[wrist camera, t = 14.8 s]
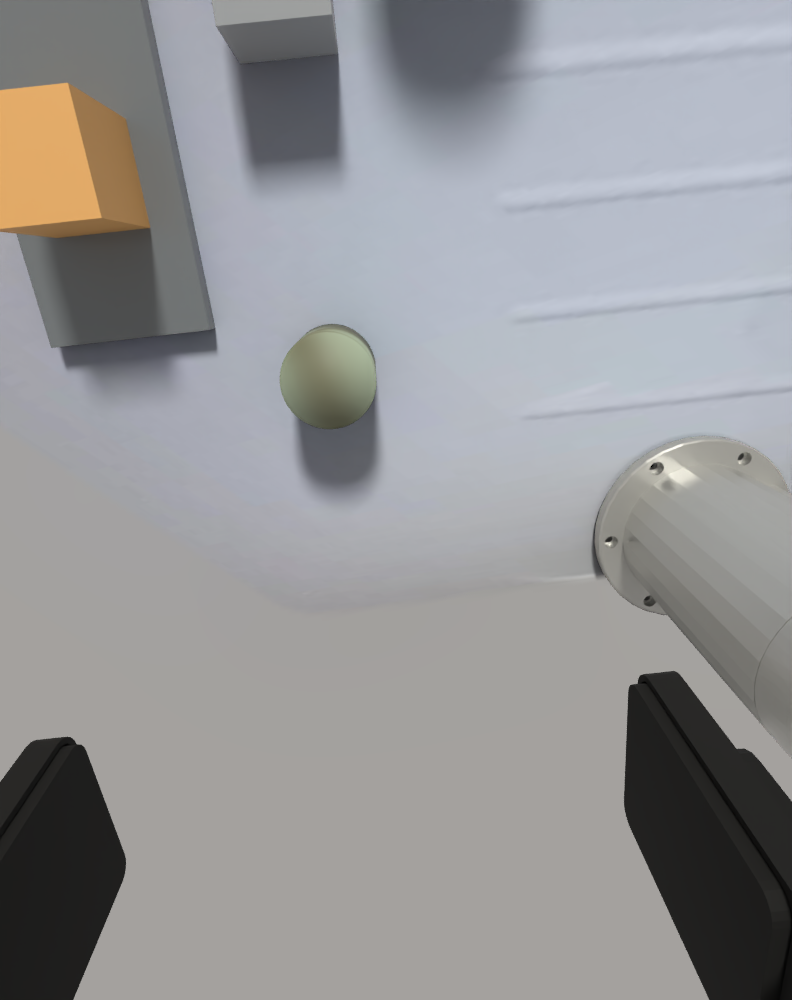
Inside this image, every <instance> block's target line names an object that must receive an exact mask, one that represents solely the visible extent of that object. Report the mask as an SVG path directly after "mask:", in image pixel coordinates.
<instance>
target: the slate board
mask: <svg viewBox="0 0 792 1000" xmlns="http://www.w3.org/2000/svg"><path fill="white" fill-rule="evenodd" d="M60 83H69V84H71V85H72V86H74V87H76V88H77V89H79V90H80V91H82V92H84V93H85V94H87V95H88V96H90V97H92V98H93V99H95V100H96V101H98V102H100V103H101V104H103V105H104V106H106V107H108V108H109V109H111V110H112V111H114V112H116V113H117V114H119V115H120V116H122V117H124V118H125V119H126V122H127V126H128V131H129V135H130V140H131V144H132V149H133V153H134V157H135V162H136V166H137V171H138V175H139V180H140V184H141V188H142V193H143V197H144V202H145V206H146V211H147V215H148V219H149V224H150V228H145V229H136V230H127V231H118V232H108V233H99V234H90V235H81V236H72V237H62V238H52V237H43V236H34V235H25V234H17V233H16V234H17V237H18V240H19V244H20V247H21V250H22V253H23V257H24V260H25V263H26V266H27V270H28V273H29V276H30V280H31V283H32V286H33V289H34V293H35V296H36V299H37V302H38V306H39V309H40V312H41V316H42V319H43V322H44V325H45V329H46V332H47V335H48V339H49V342H50V345H51V348H55V347H64V346H73V345H82V344H90V343H99V342H108V341H117V340H126V339H134V338H143V337H152V336H161V335H170V334H178V333H187V332H196V331H205V330H211V329H214V328H215V325H214V320H213V315H212V311H211V306H210V301H209V296H208V291H207V286H206V282H205V277H204V272H203V267H202V262H201V257H200V253H199V248H198V243H197V238H196V233H195V228H194V224H193V219H192V214H191V209H190V204H189V200H188V195H187V190H186V185H185V180H184V175H183V171H182V166H181V161H180V156H179V151H178V146H177V142H176V137H175V132H174V127H173V122H172V117H171V113H170V108H169V103H168V98H167V93H166V89H165V84H164V79H163V74H162V69H161V64H160V60H159V55H158V50H157V45H156V40H155V35H154V31H153V26H152V21H151V16H150V11H149V7H148V2H147V0H0V90H6V89H15V88H24V87H33V86H42V85H51V84H60Z"/></svg>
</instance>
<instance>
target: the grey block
mask: <svg viewBox="0 0 792 1000" xmlns="http://www.w3.org/2000/svg"><path fill="white" fill-rule="evenodd" d="M212 5H213V11H214V17H215V23H216V27H217V28H218V30H219V32H220V33H221V35H222V36H223V38H224V39H225V41H226V43H227V44H228V46H229V47H230V49H231V50H232V52H233V54H234V55H235V57H236V58H237V60H238V61H239V63H240V64H246V63H256V62H266V61H276V60H285V59H295V58H305V57H315V56H325V55H334V54H338V45H337V36H336V27H335V17H334V8H333V0H212Z"/></svg>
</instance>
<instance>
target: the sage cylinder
mask: <svg viewBox="0 0 792 1000" xmlns="http://www.w3.org/2000/svg"><path fill="white" fill-rule="evenodd" d="M280 387H281V392H282V395H283V398H284V400H285V402H286V404H287V406H288V407H289V408H290V410H291V411H292V412H293V413H294V414H295V415H296V416H297V417H298V418H299V419H300V420H302V421H304V422H305V423H307V424H309V425H311V426H314V427H317V428H322V429H337V428H342V427H345V426H348V425H350V424H352V423H354V422H355V421H357V420H358V419H359V418H361V417H362V416H363V415H364V414H365V412H366V411H367V410H368V408H369V407H370V405H371V403H372V401H373V398H374V395H375V391H376V368H375V359H374V355H373V352H372V350H371V348H370V346H369V344H368V343H367V341H366V340H365V339H364V338H363V337H362V336H361V335H360V334H359V333H357V332H356V331H355V330H353V329H351V328H349V327H346V326H343V325H338V324H327V325H322V326H319V327H316V328H314V329H312V330H310V331H309V332H307V333H306V334H305V335H304V336H303V337H302V338H301V339H300V340H299V341H298V342H297V343H296V344H295V345H294V346H293V347H292V348H291V349H290V351H289V352H288V353H287V355H286V357H285V359H284V361H283V363H282V367H281V371H280Z"/></svg>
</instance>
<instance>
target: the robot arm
mask: <svg viewBox="0 0 792 1000" xmlns="http://www.w3.org/2000/svg"><path fill="white" fill-rule="evenodd" d="M653 463H654V466H653V467H651V465H652V464H653ZM650 467H651V468H650ZM608 537H609V538H608ZM607 538H608V539H607ZM595 549H596V556H597V559H598V562H599V565H600V567H601V570H602V572H603V574H604V575H605V577H606V578H607V579H608V581H609V582H610V584H611V585H612V586H613V587H614V589H615V590H616V591H617V592H618V593H619V594H620V595H621V596H622V597H623V598H625V599H626V600H627V601H629V602H630V603H631V604H633V605H635V606H637V607H639V608H641V609H643V610H646V611H649V612H653V613H657V614H661V615H668V616H669V617H670V618H671V620H672V621H673V622H674V623H675V624H676V625H677V627H678V628H679V629H680V630H681V631H682V632H683V634H684V635H685V636H686V637H687V638H688V639H689V641H690V642H691V643H692V644H693V645H694V646H695V648H696V649H697V650H698V651H699V652H700V653H701V655H702V656H703V657H704V658H705V659H706V660H707V662H708V663H709V664H710V665H711V666H712V667H713V669H714V670H715V671H716V672H717V673H718V674H719V676H720V677H721V678H722V679H723V680H724V681H725V683H726V684H727V685H728V686H729V687H730V688H731V690H732V691H733V692H734V693H735V694H736V695H737V697H738V698H739V699H740V700H741V701H742V702H743V704H744V705H745V706H746V707H747V708H748V709H749V711H750V712H751V713H752V714H753V715H754V716H755V718H756V719H757V720H758V721H759V722H760V723H761V725H762V726H763V727H764V728H765V729H766V730H767V732H768V733H769V734H770V735H771V736H772V737H773V738H774V739H775V740H776V742H777V743H778V744H779V745H780V746H781V747H782V748H783V750H784V751H785V752H786V753H787V754H788V755H789V756H790V757H791V758H792V494H791V493H789V492H788V488H787V484H786V483H785V481H784V479H783V477H782V475H781V473H780V471H779V470H778V469H777V467H776V466H775V465H774V464H773V463H772V462H771V461H770V459H769V458H767V457H766V456H764V455H763V454H761V453H760V452H759V451H757V450H756V449H754V448H752V447H750V446H748V445H745V444H743V443H741V442H738V441H735V440H731V439H728V438H724V437H715V436H698V437H689V438H684V439H680V440H677V441H673V442H670V443H667V444H665V445H663V446H661V447H658V448H656V449H654V450H652V451H650V452H648V453H647V454H646V455H644V456H643V457H641V458H640V459H639V460H637V461H636V462H634V463H633V464H632V465H631V466H630V467H629V468H628V469H627V470H626V471H625V472H624V473H623V474H622V475H621V476H620V477H619V478H618V479H617V481H616V482H615V484H614V485H613V486H612V488H611V489H610V490H609V492H608V494H607V496H606V498H605V500H604V502H603V504H602V506H601V508H600V511H599V515H598V518H597V522H596V526H595ZM624 807H625V812H626V817H627V820H628V823H629V826H630V828H631V830H632V833H633V835H634V837H635V839H636V841H637V843H638V845H639V848H640V850H641V852H642V854H643V856H644V858H645V861H646V863H647V865H648V867H649V870H650V872H651V874H652V876H653V878H654V880H655V883H656V885H657V887H658V889H659V891H660V893H661V896H662V897H663V900H664V902H665V904H666V906H667V908H668V910H669V913H670V915H671V917H672V920H673V922H674V924H675V926H676V928H677V930H678V933H679V935H680V937H681V939H682V941H683V943H684V946H685V948H686V950H687V952H688V954H689V956H690V959H691V961H692V963H693V965H694V967H695V969H696V972H697V974H698V976H699V978H700V980H701V983H702V985H703V987H704V989H705V991H706V993H707V996H708V998H709V1000H792V801H791V800H790V799H789V798H788V796H787V795H786V794H785V792H783V790H782V789H781V787H780V786H779V785H778V784H777V783H776V781H775V780H774V778H773V777H772V776H771V775H770V773H769V772H768V771H767V770H766V768H765V767H764V766H763V765H762V763H761V762H760V761H759V760H758V759H757V758H756V757H755V756H754V755H753V753H752V752H750V751H748V750H746V749H736V748H735V747H734V745H733V744H732V743H731V741H730V740H729V739H728V738H727V736H726V735H725V733H724V732H723V731H722V729H721V728H720V727H719V725H718V724H717V723H716V721H715V720H714V719H713V718H712V716H711V715H710V714H709V712H708V711H707V710H706V708H705V707H704V706H703V704H702V703H701V702H700V700H699V699H698V698H697V696H696V695H695V694H694V693H693V691H692V690H691V689H690V687H689V686H688V685H687V683H686V682H685V681H684V680H683V678H682V677H681V676H680V675H679V674H678V673H677V672H675V671H671V672H661V673H653V674H643V675H641V676H640V677H639V679H638V684H634V685H630V687H629V692H628V716H627V741H626V766H625V791H624ZM125 869H126V858H125V854H124V852H123V849H122V846H121V844H120V840H119V838H118V835H117V832H116V830H115V827H114V824H113V822H112V819H111V816H110V814H109V811H108V808H107V806H106V803H105V801H104V798H103V795H102V792H101V790H100V787H99V784H98V782H97V779H96V776H95V774H94V771H93V768H92V765H91V763H90V760H89V757H88V755H87V752H86V750H85V748H84V747H83V746H82V745H77V744H76V743H75V741H74V740H73V739H72V738H71V737H61V738H52V739H43V740H35V741H33V742H31V743H30V744H29V745H28V746H27V747H26V748H25V749H24V751H23V752H22V753H21V755H20V756H19V757H18V759H17V760H16V761H15V763H14V764H13V766H12V767H11V768H10V770H9V771H8V772H7V774H6V775H5V776H4V778H3V779H2V780H1V782H0V1000H73V999H74V996H75V994H76V992H77V989H78V987H79V984H80V982H81V979H82V977H83V975H84V972H85V970H86V968H87V965H88V963H89V960H90V958H91V955H92V953H93V951H94V948H95V946H96V944H97V941H98V939H99V936H100V934H101V932H102V929H103V927H104V924H105V922H106V919H107V917H108V915H109V913H110V910H111V908H112V905H113V903H114V900H115V898H116V895H117V893H118V891H119V888H120V886H121V884H122V881H123V878H124V874H125Z"/></svg>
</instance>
